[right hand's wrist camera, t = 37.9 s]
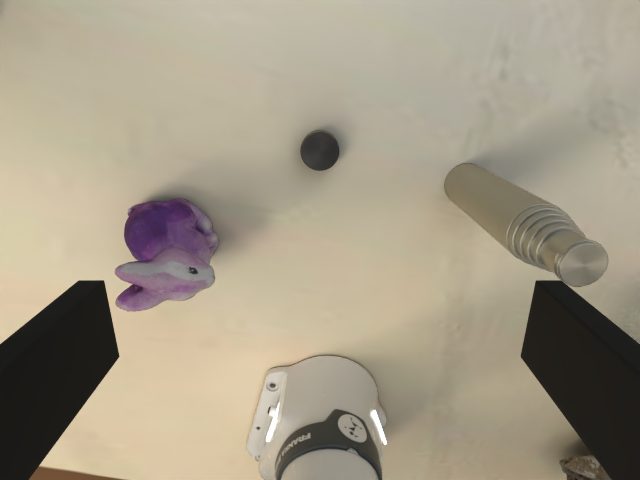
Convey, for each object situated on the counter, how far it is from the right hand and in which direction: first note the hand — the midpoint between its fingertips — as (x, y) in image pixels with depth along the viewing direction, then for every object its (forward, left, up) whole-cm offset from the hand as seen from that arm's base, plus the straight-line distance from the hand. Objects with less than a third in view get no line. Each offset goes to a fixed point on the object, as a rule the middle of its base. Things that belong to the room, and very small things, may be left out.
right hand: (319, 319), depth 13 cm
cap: (0, 0, -35) cm, 35 cm away
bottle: (+13, -11, -37) cm, 41 cm away
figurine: (-19, -1, -37) cm, 41 cm away
